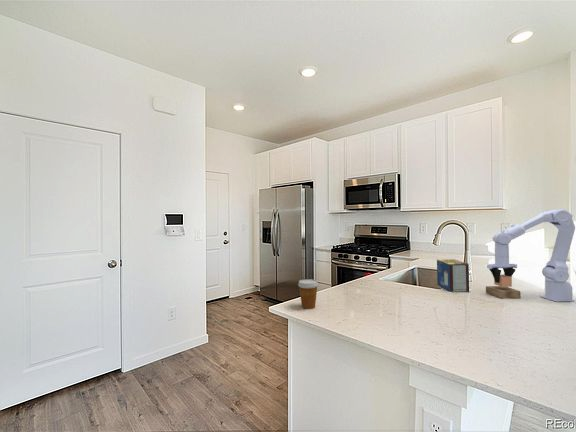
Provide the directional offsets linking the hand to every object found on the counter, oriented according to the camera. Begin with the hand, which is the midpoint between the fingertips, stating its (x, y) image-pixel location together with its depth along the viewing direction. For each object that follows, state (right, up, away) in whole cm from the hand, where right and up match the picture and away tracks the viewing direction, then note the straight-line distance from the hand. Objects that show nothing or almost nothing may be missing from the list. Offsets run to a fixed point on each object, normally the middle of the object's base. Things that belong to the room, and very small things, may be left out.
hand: (502, 282), depth 140 cm
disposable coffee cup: (-101, -9, -12) cm, 103 cm away
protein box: (-17, -8, +15) cm, 24 cm away
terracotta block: (0, -2, 0) cm, 2 cm away
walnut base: (0, -7, 0) cm, 7 cm away
